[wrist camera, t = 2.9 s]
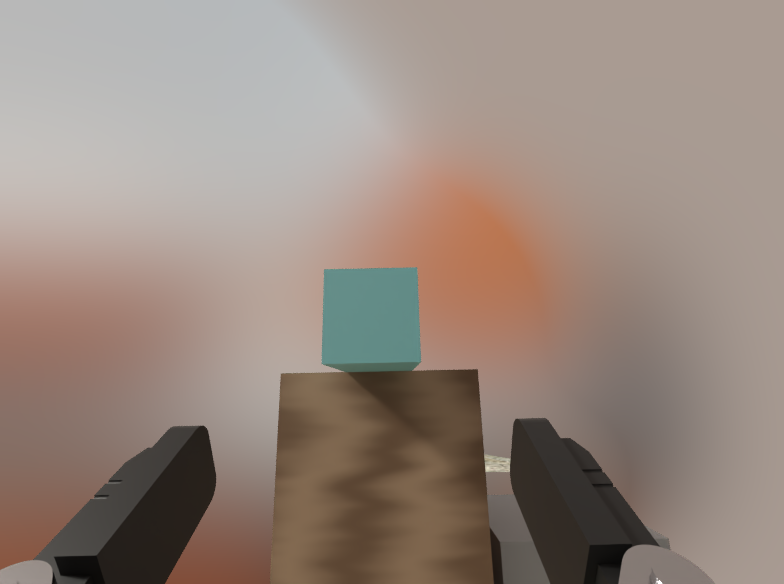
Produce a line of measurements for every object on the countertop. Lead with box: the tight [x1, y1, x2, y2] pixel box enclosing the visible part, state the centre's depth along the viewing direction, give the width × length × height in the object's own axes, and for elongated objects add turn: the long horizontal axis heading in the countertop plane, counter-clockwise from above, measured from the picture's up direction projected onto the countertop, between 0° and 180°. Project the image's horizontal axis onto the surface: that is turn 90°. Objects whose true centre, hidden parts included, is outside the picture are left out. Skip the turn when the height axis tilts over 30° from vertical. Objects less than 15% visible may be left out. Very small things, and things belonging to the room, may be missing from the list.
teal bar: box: [322, 268, 421, 372], centre depth 27 cm, size 4×24×4 cm, turn 0°
